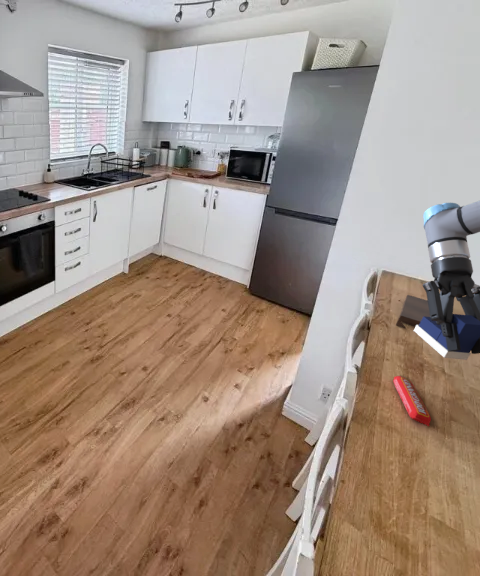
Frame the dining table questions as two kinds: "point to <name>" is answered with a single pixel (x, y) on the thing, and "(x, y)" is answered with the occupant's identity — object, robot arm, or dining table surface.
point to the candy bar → (411, 400)
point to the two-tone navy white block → (433, 336)
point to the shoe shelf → (413, 311)
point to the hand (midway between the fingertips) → (466, 351)
